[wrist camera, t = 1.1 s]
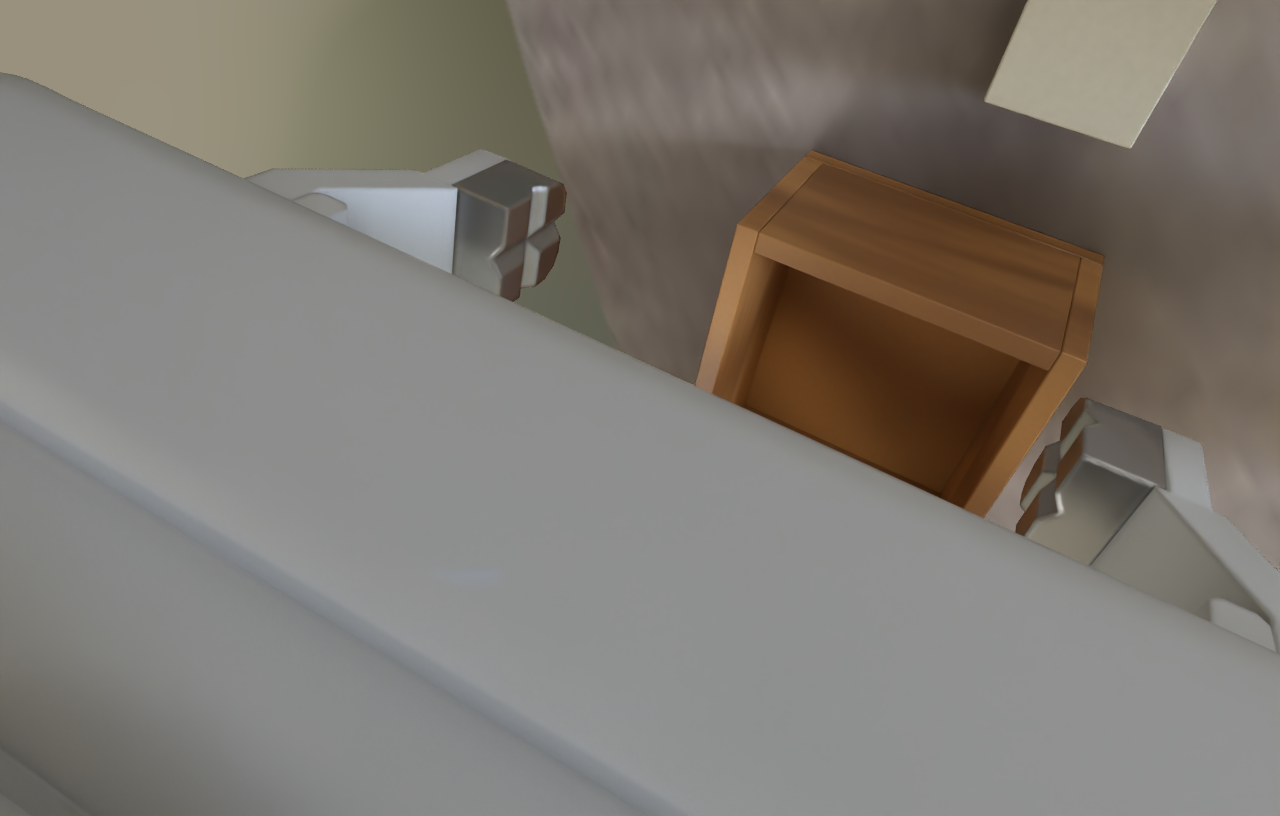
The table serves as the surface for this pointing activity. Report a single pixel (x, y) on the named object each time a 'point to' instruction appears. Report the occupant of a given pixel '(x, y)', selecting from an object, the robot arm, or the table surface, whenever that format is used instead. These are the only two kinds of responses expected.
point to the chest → (900, 327)
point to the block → (1095, 62)
